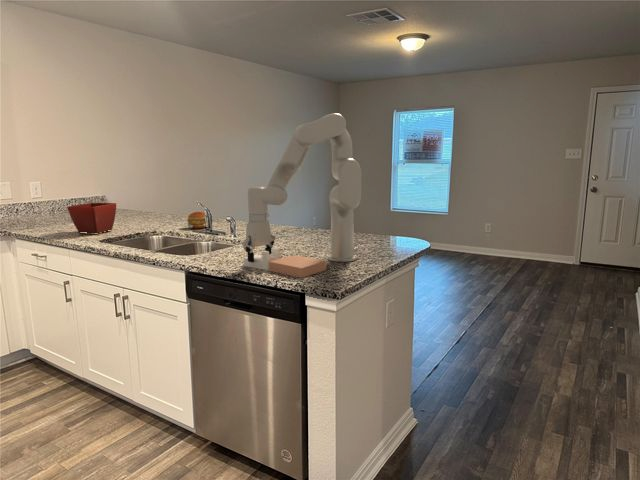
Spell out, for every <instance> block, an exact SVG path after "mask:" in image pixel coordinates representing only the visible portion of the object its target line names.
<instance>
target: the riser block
mask: <svg viewBox="0 0 640 480" xmlns="http://www.w3.org/2000/svg"><path fill="white" fill-rule="evenodd" d="M269 266H270V269H269V271H270V272H276V273H280V274H284V275H288V276H293V277H298V278H305V277H307V276H311V275H314V274H316V273H317V274H318V273H320V272H323V271H326V270H327V261H326V260H323V259H318V258H312V257H307V256H300V255H297V254H293V255H288V256H285V257H282V258H279V259H277V260H273V261H270V262H269Z"/></svg>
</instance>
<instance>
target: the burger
mask: <svg viewBox="0 0 640 480" xmlns="http://www.w3.org/2000/svg"><path fill="white" fill-rule="evenodd" d="M204 213H205V212H203V211H194V212H192V213H190V214H189V215H188V217H187V226H188V228H190V229H195V230H196V229H197V230H198V229H206V228H205V223H206V221H205V215H204Z"/></svg>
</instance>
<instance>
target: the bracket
mask: <svg viewBox="0 0 640 480" xmlns="http://www.w3.org/2000/svg"><path fill="white" fill-rule="evenodd" d="M271 252H272V253H271V254H269V251H265V250H262V251H261V253H262V255H260V254H254V262H248V256H245V257H243V266H244V267H249V268H255V269H261V270H265V271H266V270H267V271H270V266H269V262H270V261H273V260H277V259H280V248H277V247H272V248H271Z"/></svg>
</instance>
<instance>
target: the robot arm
mask: <svg viewBox="0 0 640 480" xmlns="http://www.w3.org/2000/svg"><path fill="white" fill-rule="evenodd" d="M346 127H347V120H346V118H345V117H344V116H343V115H342V114H341V113H336V112H334V113H329V114H326V115H324V116H322V117H320V118H319V119H316V120H313V121H311V122H308V123H307V122H306V123H303V124H300V125H298V126H296V128H295V129H294V131H293V133H292V134H291V135H292V136H291V137H290V140H289V142H288V144H287V146H286V149H284V150H285V151H284V153H283V154H282V157H281V159H280V160H279V162H278V164H277V166H276V167H275V169H274V172H273V173H272V175H271V177H270V180H269V182H268V184H267V186H266V187H265V186H251V187H249V188H248V189H247V201H248V203H247V204H248V221H247V222H246V229H245V239H244V240H243V241H242V242H241V245H242V247H243V249H244V251H245V252H246V253H247V256H246V257H248V262H254V255H255V253H254V249H256V248H258V247H262V246H265V248H264V251H269V254H271V253H272V248H274V247H273V245H274V244H275V240H276V238H277V237H276V236H275V235H273V234H272V233H271V225H270V220H269V216H270V215H269V212H268V210H269V209H268V205H271V206H282V205H283V204H286V202H287V200H288V192H287V190H286V189H287V186H288V184H289V182H290V181H291V179H292V178H293V177H294V175H295V174H296V173H298V172H299V171H300V169H301V168H302V166H303V164H304V163H305V159H306V158H307V156H308V153H309V152H310V149H311V147H312V146H315V145H318V144H320V143H323V142H325V141H326V142H327V141H329V142H330V146H331V174H332V177H333V178H334V179H335V180H336V181H338V184H336V185H335V186H334V187H333V188H332V189H331V190H330V193H329V198H328V199H329V200H328V201H329V206H330V207H329V209H330V233H331V234H330V237H331V238H330V239H331V241H330V247H331V248H330V250H331V252H330V254H327V255H328V256H327V260H329V261H332V262H338V263H347V262H354V261H356V260H357V259H358V255H357V254H355V253H356V252H358V251H360V247H359V246H356V247H354V246H355V245H354V237H355V236H354V234H355V233H354V230H355V228H354V226H355V224H354V217H355V215H354V210H355V209H356V208H358V206H359V205H360V203H361V199H362V169H361V166H360V163H359V162H358V161H357V160H356V159H355V158H353V140H352V136H351V135H350V133H349V131H348V129H347V128H346Z"/></svg>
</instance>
